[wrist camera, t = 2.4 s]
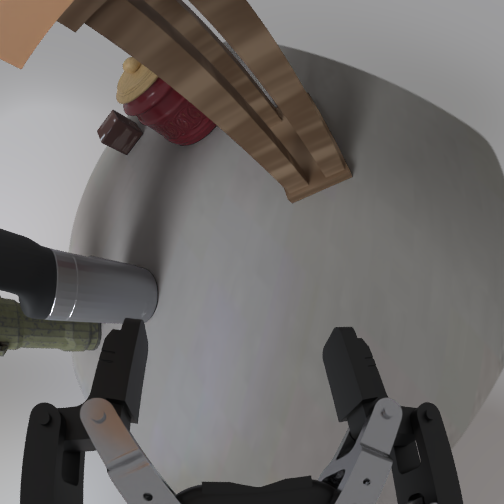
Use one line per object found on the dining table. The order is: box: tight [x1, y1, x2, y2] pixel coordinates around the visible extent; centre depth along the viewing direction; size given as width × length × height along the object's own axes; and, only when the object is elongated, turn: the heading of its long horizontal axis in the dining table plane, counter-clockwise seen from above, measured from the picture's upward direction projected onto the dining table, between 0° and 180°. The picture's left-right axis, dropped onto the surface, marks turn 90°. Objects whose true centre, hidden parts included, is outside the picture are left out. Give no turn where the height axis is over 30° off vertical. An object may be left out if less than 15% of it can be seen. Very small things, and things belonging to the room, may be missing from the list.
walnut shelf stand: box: [57, 0, 352, 203], centre depth 22 cm, size 14×8×31 cm, turn 15°
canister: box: [116, 57, 216, 146], centre depth 39 cm, size 13×13×18 cm
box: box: [97, 110, 143, 155], centre depth 52 cm, size 6×6×7 cm
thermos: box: [0, 297, 101, 356], centre depth 35 cm, size 9×12×35 cm
